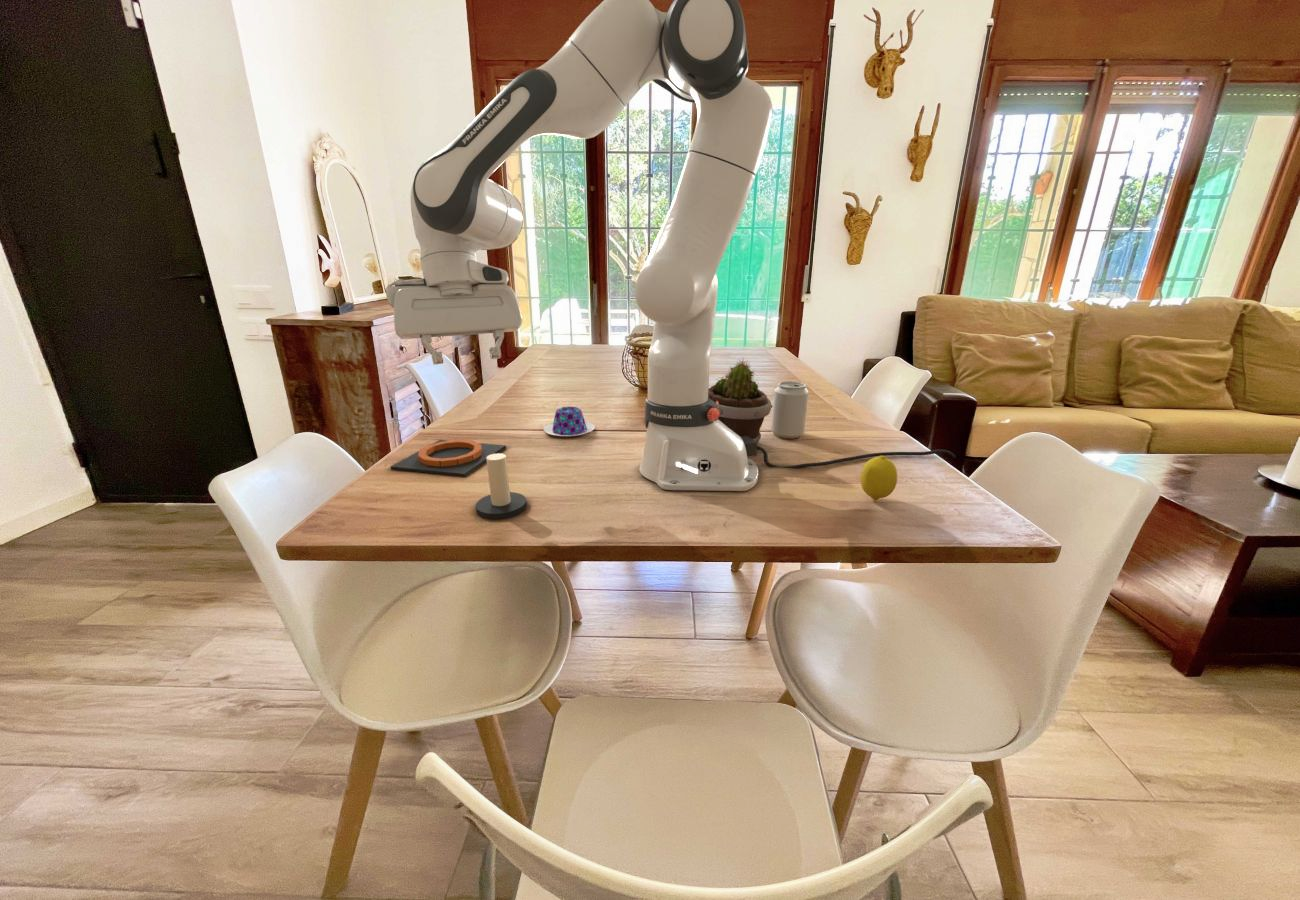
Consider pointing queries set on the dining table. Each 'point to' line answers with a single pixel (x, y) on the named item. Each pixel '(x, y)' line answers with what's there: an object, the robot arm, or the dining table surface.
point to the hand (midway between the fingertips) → (468, 360)
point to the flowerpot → (741, 402)
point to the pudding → (569, 423)
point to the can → (789, 409)
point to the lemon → (879, 477)
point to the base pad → (449, 457)
